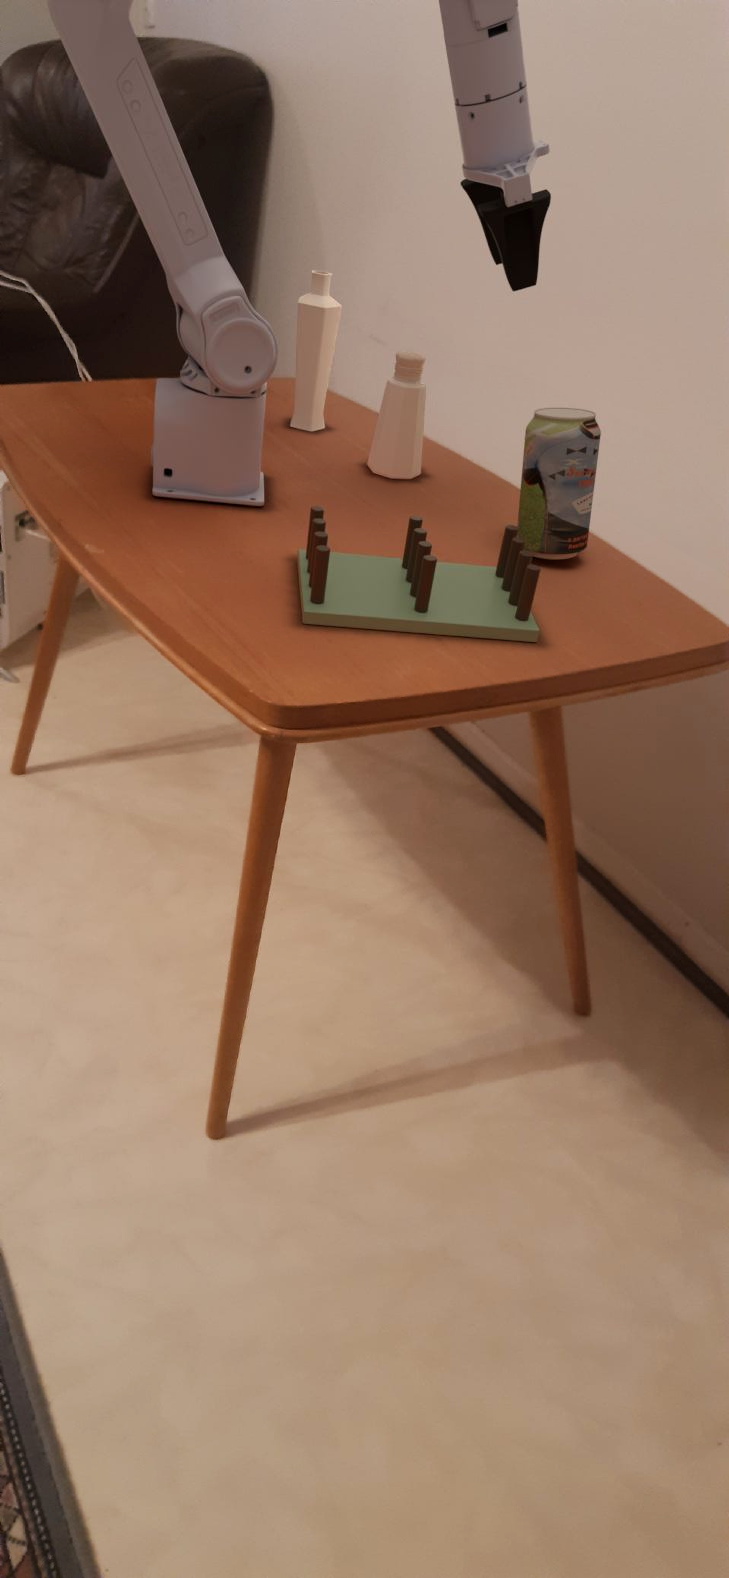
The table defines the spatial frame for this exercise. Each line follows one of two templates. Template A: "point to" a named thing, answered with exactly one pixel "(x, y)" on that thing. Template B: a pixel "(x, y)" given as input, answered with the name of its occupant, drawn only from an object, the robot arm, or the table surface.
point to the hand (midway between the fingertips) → (514, 273)
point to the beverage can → (558, 481)
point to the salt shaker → (400, 421)
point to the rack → (418, 588)
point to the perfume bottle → (314, 351)
